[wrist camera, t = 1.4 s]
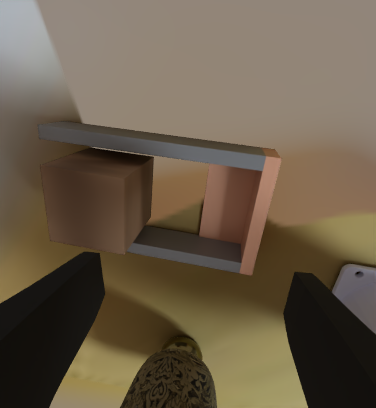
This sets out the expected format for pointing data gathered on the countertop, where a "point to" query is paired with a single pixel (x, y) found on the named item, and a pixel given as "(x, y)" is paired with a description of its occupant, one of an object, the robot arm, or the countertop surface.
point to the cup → (173, 379)
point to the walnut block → (98, 198)
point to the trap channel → (214, 195)
